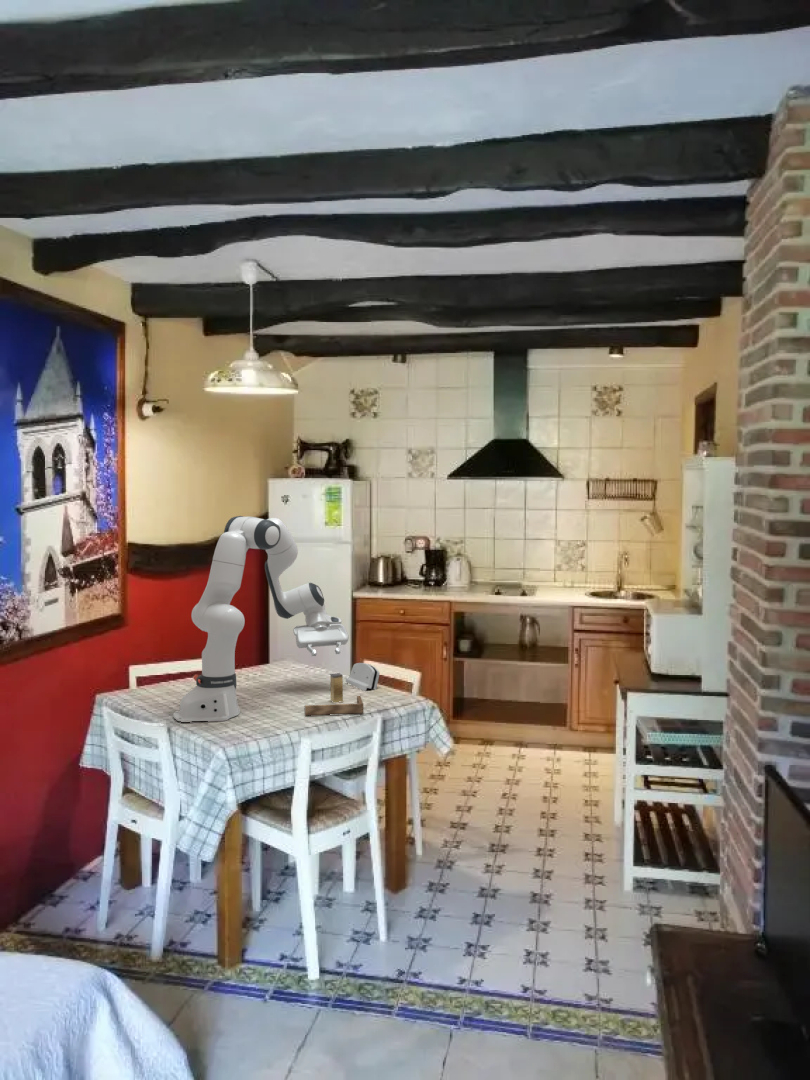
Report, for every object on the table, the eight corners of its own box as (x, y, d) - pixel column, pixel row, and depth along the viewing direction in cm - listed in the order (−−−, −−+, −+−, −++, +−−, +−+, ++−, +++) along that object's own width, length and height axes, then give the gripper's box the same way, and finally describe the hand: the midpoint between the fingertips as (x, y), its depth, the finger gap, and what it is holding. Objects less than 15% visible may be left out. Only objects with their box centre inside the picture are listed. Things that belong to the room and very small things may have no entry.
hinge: (344, 683, 348) (351, 658, 350) (354, 685, 351) (361, 661, 352) (365, 691, 334) (372, 666, 336) (375, 693, 337) (382, 668, 338)
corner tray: (305, 716, 299) (305, 706, 299) (304, 707, 311) (304, 697, 311) (363, 714, 302) (363, 704, 302) (360, 705, 314) (360, 695, 314)
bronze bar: (333, 703, 317) (333, 675, 316) (330, 700, 320) (330, 674, 320) (342, 702, 318) (342, 675, 318) (339, 699, 322) (339, 673, 321)
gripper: (293, 621, 331) (301, 651, 323) (344, 618, 339) (353, 647, 331) (290, 631, 336) (298, 661, 327) (341, 627, 344) (349, 656, 335)
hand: (326, 654), depth 329 cm, fingers open, 8 cm apart
